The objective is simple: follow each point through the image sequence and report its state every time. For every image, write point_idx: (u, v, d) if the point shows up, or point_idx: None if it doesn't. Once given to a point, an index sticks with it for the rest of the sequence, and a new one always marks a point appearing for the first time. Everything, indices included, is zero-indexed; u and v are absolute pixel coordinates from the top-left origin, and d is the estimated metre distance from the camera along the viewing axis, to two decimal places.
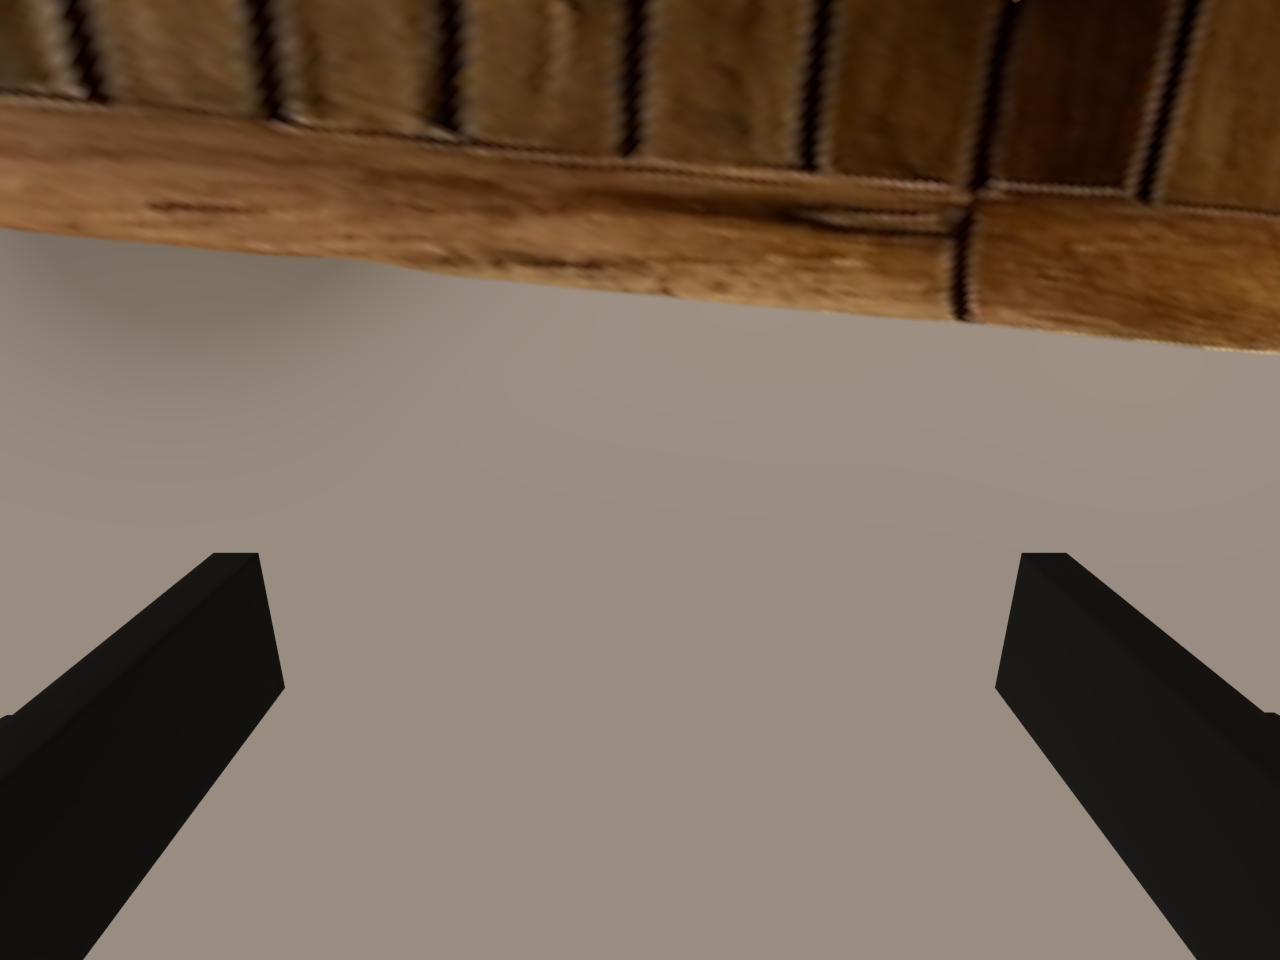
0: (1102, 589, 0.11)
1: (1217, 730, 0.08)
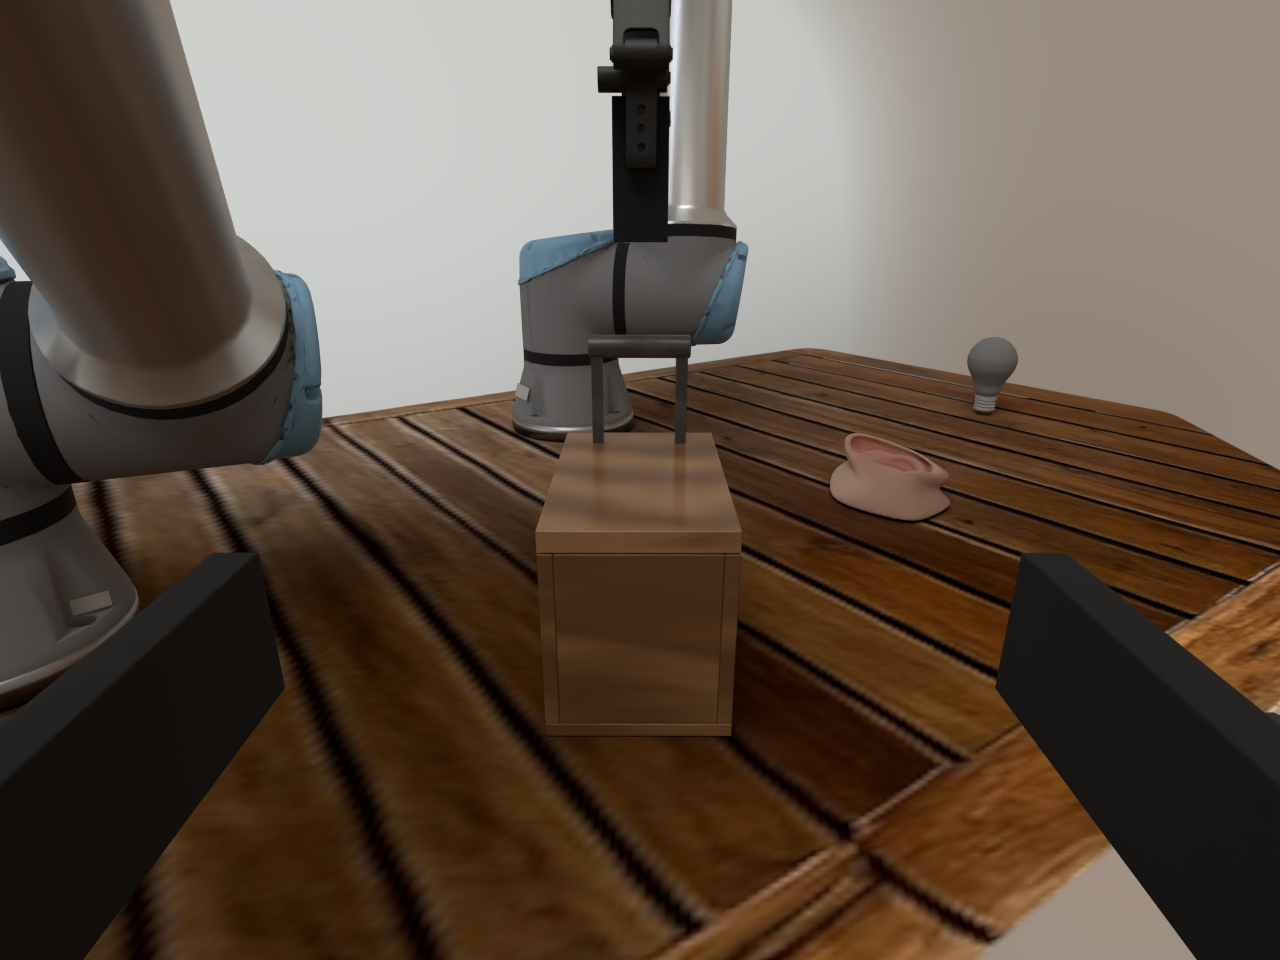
0: (1102, 589, 0.11)
1: (1217, 730, 0.08)
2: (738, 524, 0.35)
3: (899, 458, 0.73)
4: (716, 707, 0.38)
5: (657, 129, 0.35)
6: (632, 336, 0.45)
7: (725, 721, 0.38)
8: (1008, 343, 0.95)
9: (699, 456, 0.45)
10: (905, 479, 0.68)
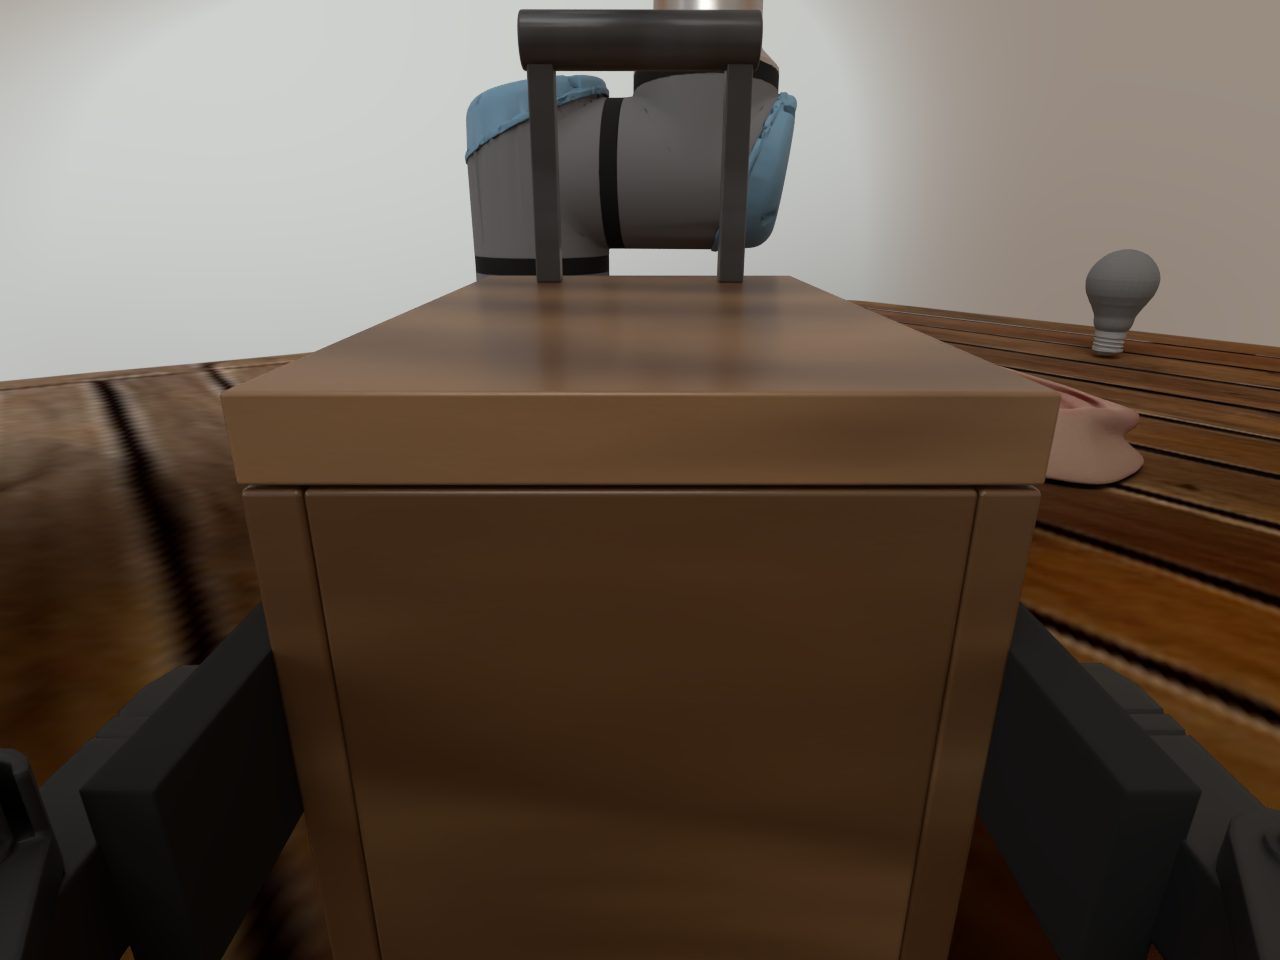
0: None
1: (1028, 672, 0.09)
2: (1022, 377, 0.09)
3: None
4: None
5: None
6: (623, 10, 0.19)
7: None
8: (1148, 256, 0.69)
9: (782, 292, 0.19)
10: (1072, 419, 0.42)
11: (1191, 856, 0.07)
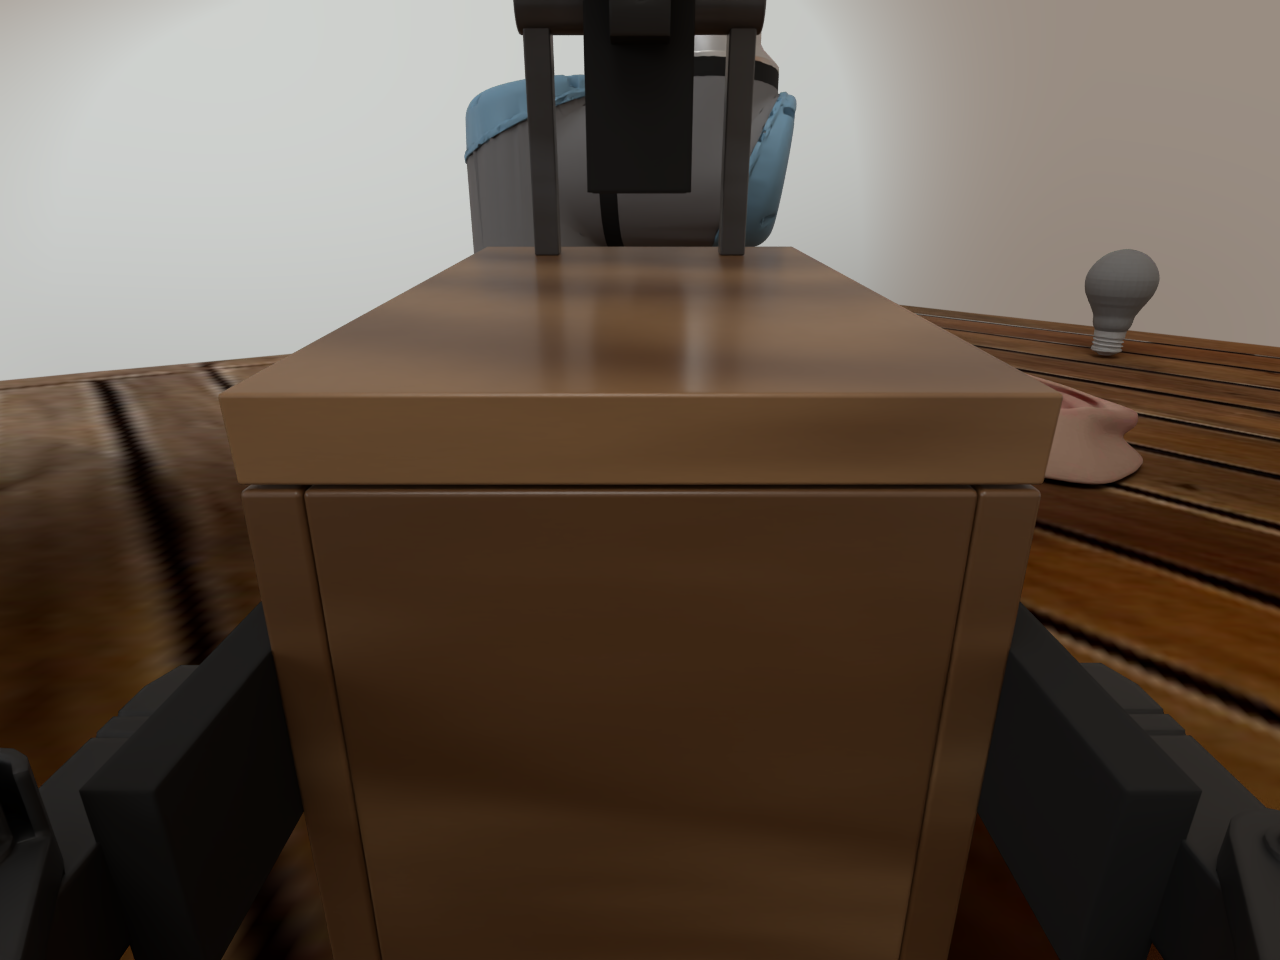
0: None
1: (1028, 672, 0.09)
2: (1024, 374, 0.09)
3: None
4: None
5: None
6: None
7: None
8: (1147, 256, 0.69)
9: (784, 267, 0.19)
10: (1071, 419, 0.42)
11: (1191, 856, 0.07)
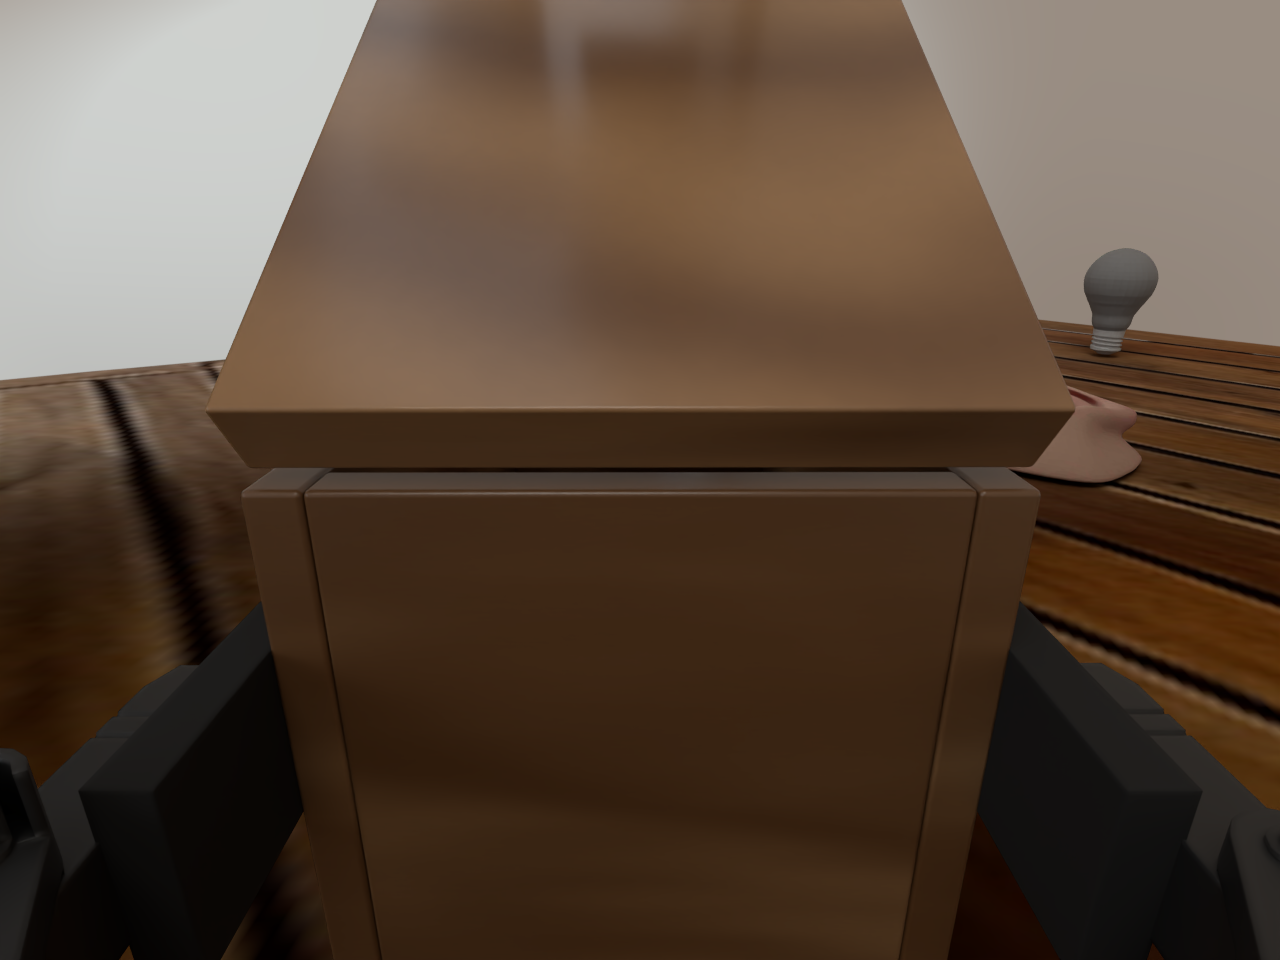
0: None
1: (1028, 672, 0.09)
2: (1048, 355, 0.09)
3: None
4: None
5: None
6: None
7: None
8: (1146, 255, 0.69)
9: None
10: (1070, 418, 0.42)
11: (1191, 855, 0.07)
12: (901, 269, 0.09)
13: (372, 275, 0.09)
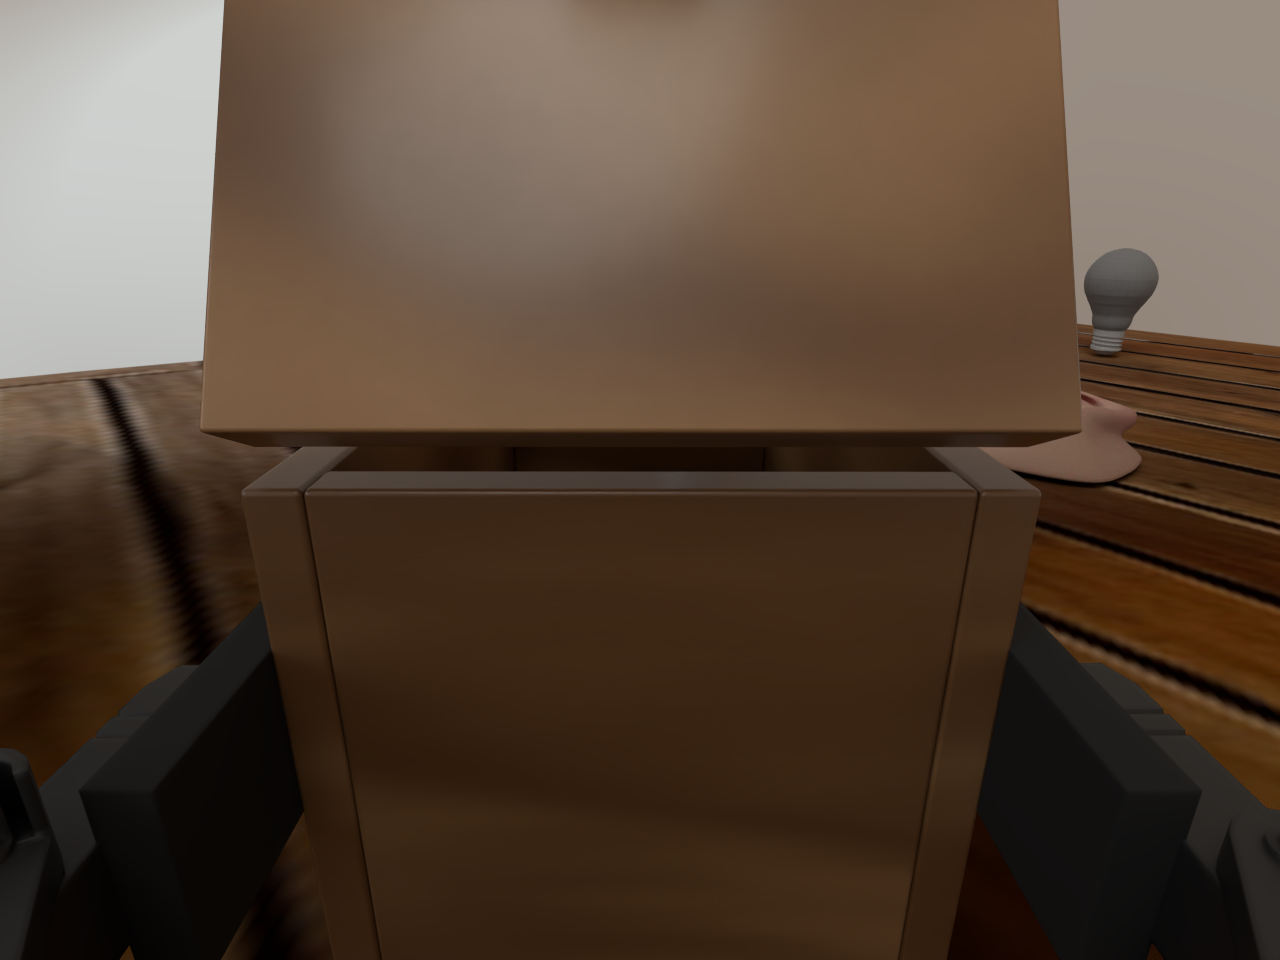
0: None
1: (1027, 672, 0.09)
2: (1073, 359, 0.08)
3: None
4: None
5: None
6: None
7: None
8: (1146, 255, 0.69)
9: None
10: None
11: (1192, 855, 0.07)
12: (939, 228, 0.08)
13: (337, 237, 0.08)
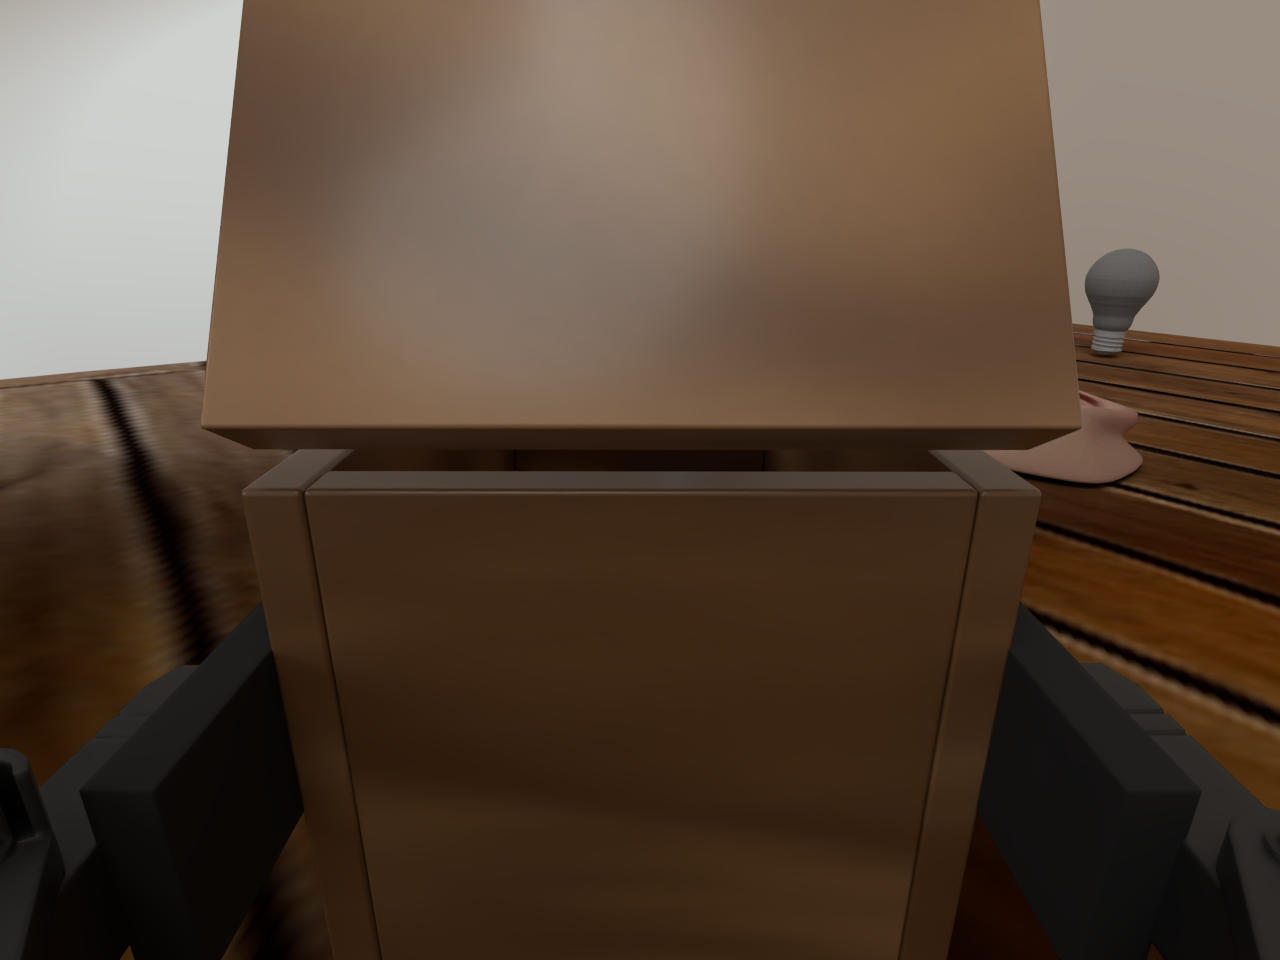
0: None
1: (1028, 672, 0.09)
2: (1070, 357, 0.08)
3: None
4: None
5: None
6: None
7: None
8: (1147, 255, 0.69)
9: None
10: None
11: (1191, 855, 0.07)
12: (933, 232, 0.08)
13: (343, 240, 0.08)
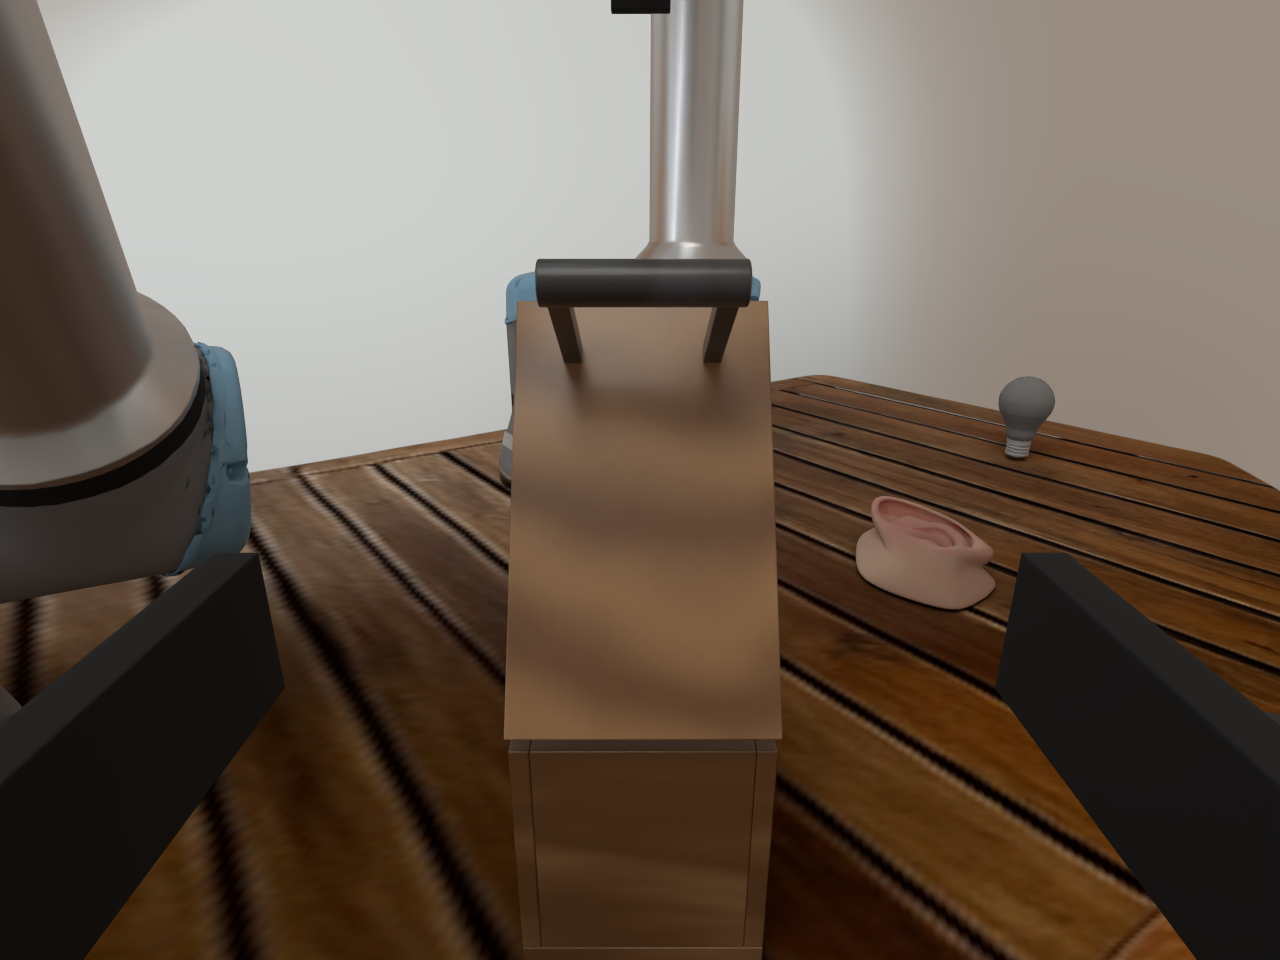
0: (1102, 589, 0.11)
1: (1217, 730, 0.08)
2: (779, 715, 0.26)
3: (934, 527, 0.65)
4: (743, 928, 0.29)
5: None
6: (628, 280, 0.21)
7: (754, 944, 0.30)
8: (1044, 384, 0.86)
9: (740, 428, 0.28)
10: (944, 557, 0.59)
11: None
12: (737, 671, 0.26)
13: (546, 674, 0.26)
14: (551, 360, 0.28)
